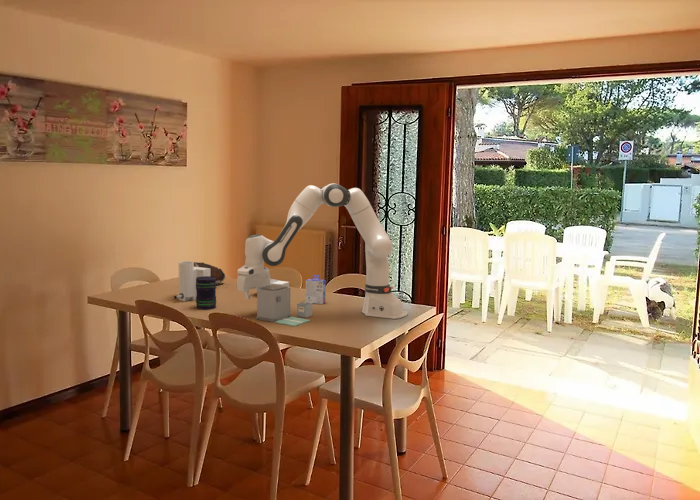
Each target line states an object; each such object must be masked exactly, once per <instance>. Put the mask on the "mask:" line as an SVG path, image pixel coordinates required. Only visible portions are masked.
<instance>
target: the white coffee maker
mask: <svg viewBox="0 0 700 500" xmlns="http://www.w3.org/2000/svg"><path fill="white" fill-rule="evenodd" d="M194 262H195V261H190V260H187V261H186V260H185V261H179V262H178V295H174V297H173V298H174V300H177V299H178V301H180V302H187V301H196V297H197V290H196V278H197V277H203V276H211V275H210V268H201V267H194Z"/></svg>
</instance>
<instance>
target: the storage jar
mask: <svg viewBox="0 0 700 500" xmlns="http://www.w3.org/2000/svg"><path fill="white" fill-rule="evenodd" d="M216 289H217V284H216V277H211V276H203V277H197V278H196V290H197V297H196V300H195V306H196V307H195V308H196V309H197V310H200V309H201V310H202V311H210V310H214V309H217V296H216V295H217V294H216Z"/></svg>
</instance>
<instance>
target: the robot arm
mask: <svg viewBox="0 0 700 500" xmlns="http://www.w3.org/2000/svg"><path fill="white" fill-rule="evenodd" d="M322 205H326V206H328V207H330V208H339V207H343V206H344V207H345V209H346V210H347V212H348V213H349V215H350V218H351V219H352V221H353V224H354V225H355V228H356V229H357V231H358V232H359V234H360V237H362V239H363V241H364V243H365V245H364V247H365V249H364V252H365V266H366V269H365V270H366V271H365V272H366V277H365V281H366V282H365V285H364V294H365V296H364V302H363V307H362V310H361V313H362V314H364V315H365V316H366V317H367V316H368V317H375V318H376V317H377V318H384V319H392V320H395V319H401V318H404V317H407V316H408V315H409V314H408V311H404V307H403V305H404V304H403V302H402V301H401V299H399V298H398V297H397V295H395V294H393V292H392V290H394V286H391V285H390V284H389V283H390V282H389V281H390V279H389V278H390V268H389V267H390V266H389V259H388V258H389V257H388V256H390V255H391V253H392V252H393V243H392V240H391V239H390V237H389V235H388V234H387V232H386V230H385V228H384V226H383V225H382V223H381V221H379V218H378V216H377V214H376V213H375V211H374V208H373V206H372V204H371V202H370V201H369V199H368V197H367V196H366V195H365V193H364V191H362V189H360V188H358V187H352V188H349V189H347V188H346V187H344V186H342V185H341V184H338V183H334V182H332V183H329V184H326V185H324V186H322V187H318V186H316V185H312V184H309V185H307V186H306V187H305V188H304V189H302V190H301V192H300V193H299V194H298V195H297V196H296V198H295V200H294V201H293V202H292V204H291V206H290V208H289V209H288V213H287V217H286V218H287V219H286V223H285V224H284V227H283V228H282V229H281V231H280V232H279V234H278V236H277V238H276V239H275V240H271V239H269V238H267V237H265V236H264V235H263V234H253V235H252V234H251V235H250V236H248V237H247V238H245V239H246V240H245V242H244V243H245V244H244V255H245V260H244V265H242V266H241V267H240V268H238V269H237V270H236V271H237V278H236V279H237V280H236V289H237V290H238V291H240V292H243V294H244V296H245V297H244V298H245V300H250V299H251V295H250V294H249V291H250V290H254V289H255V290H256V288H261V287H265V286H269V285H270V283H271V280H270V279H271V273H270V269H269V267H267V266H265V264H266V265H268V266H270V267H276V266H278V265H281V264H282V263H283V262H284V259H285V255H286V251H287V248H288V247H289V245H290V244H291V242H292V241H293V239H294V238H295V236H296V235H297V233H299V231H300V230H301V229H302V228H303V227H304V226H305V225H306V224H307V223H308V222H309V220H311V218H312V217H313V216H314V214H315V213H316V212H317V210H318V209H319V208H320V207H321V206H322Z"/></svg>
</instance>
